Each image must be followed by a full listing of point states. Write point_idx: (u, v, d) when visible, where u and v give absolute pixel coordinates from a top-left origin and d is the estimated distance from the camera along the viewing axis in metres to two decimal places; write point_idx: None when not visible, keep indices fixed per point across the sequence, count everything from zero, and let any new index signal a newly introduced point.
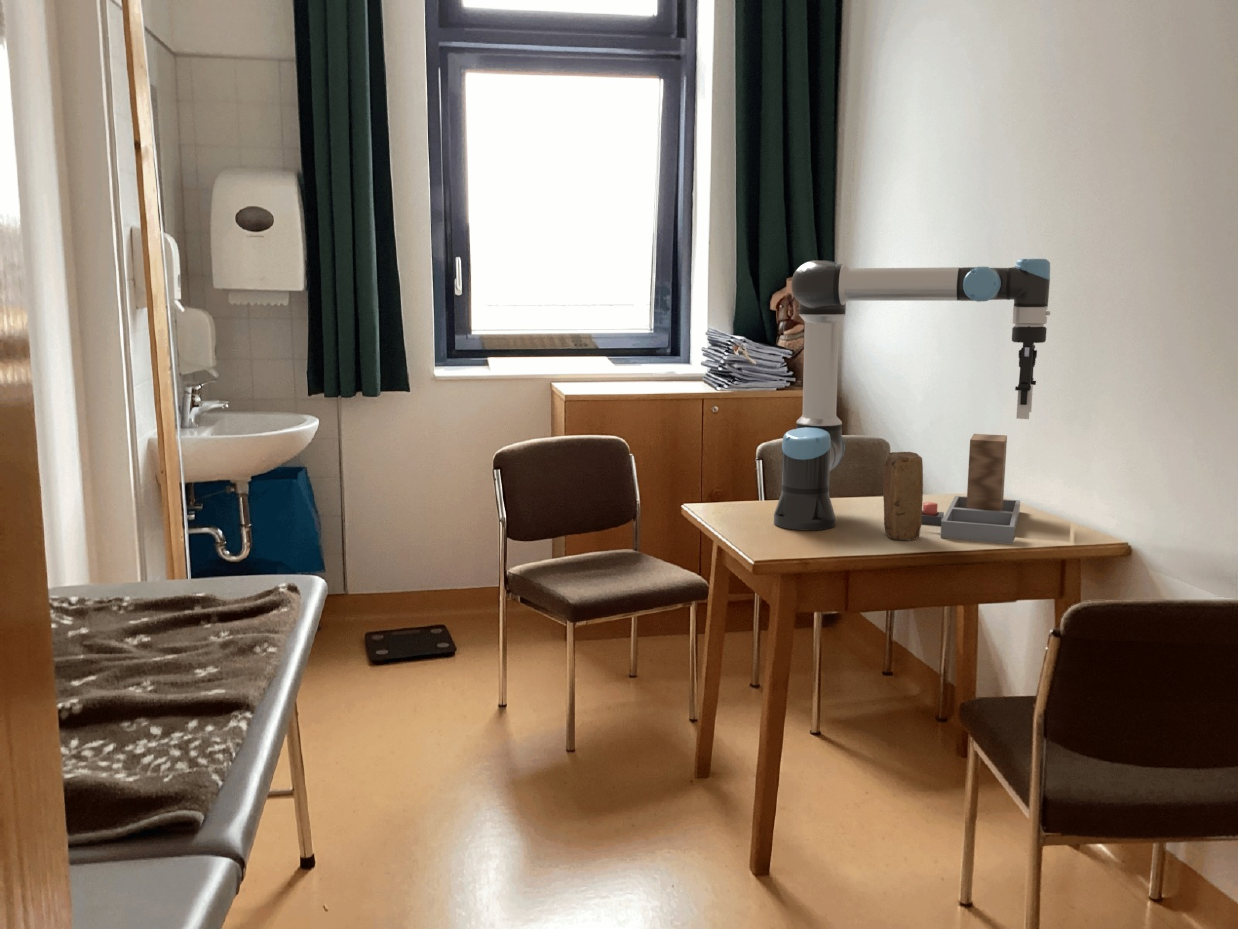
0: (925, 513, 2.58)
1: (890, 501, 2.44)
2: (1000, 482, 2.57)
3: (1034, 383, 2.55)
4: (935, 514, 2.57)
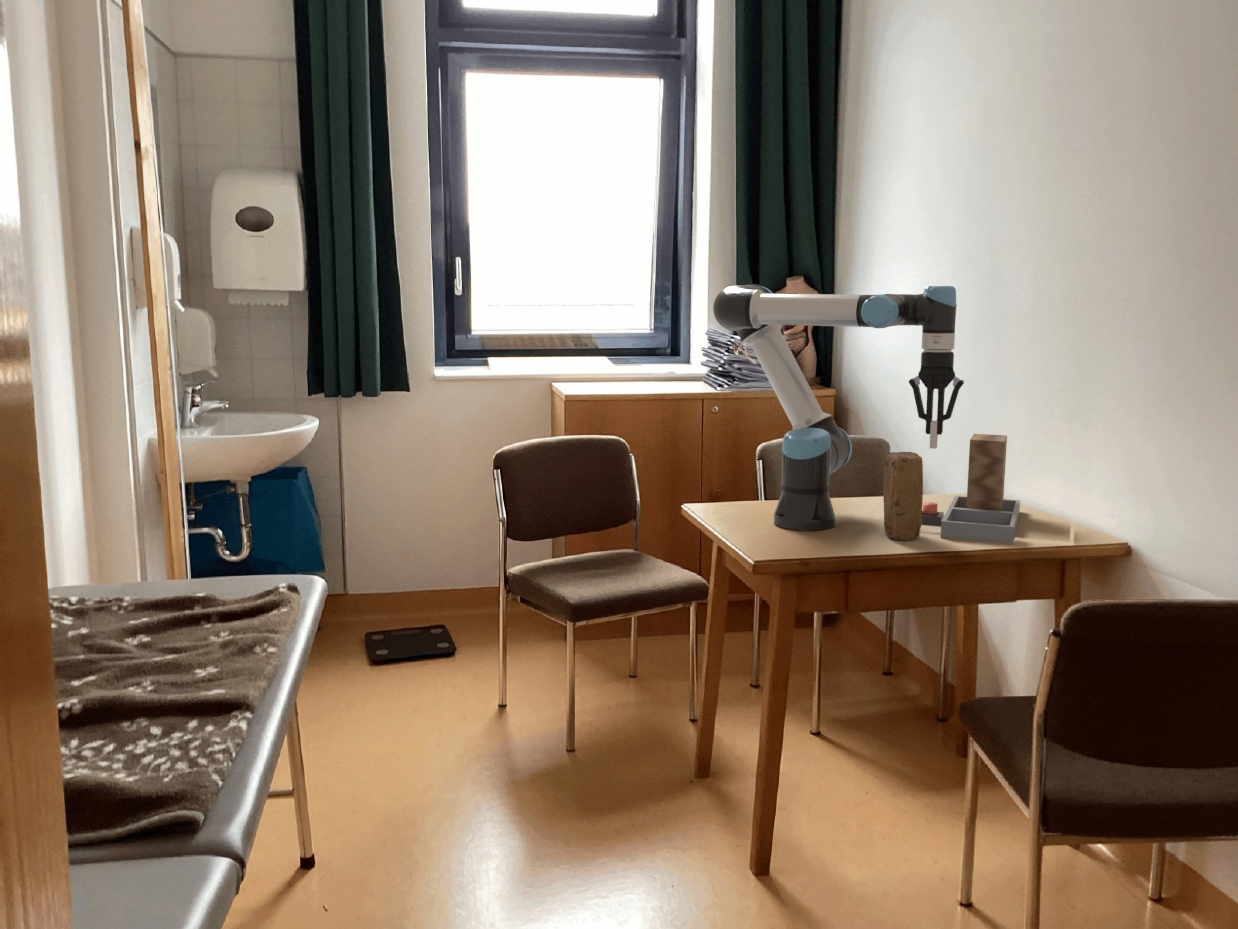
0: (925, 513, 2.58)
1: (890, 501, 2.44)
2: (1000, 482, 2.57)
3: (938, 419, 2.53)
4: (935, 514, 2.57)
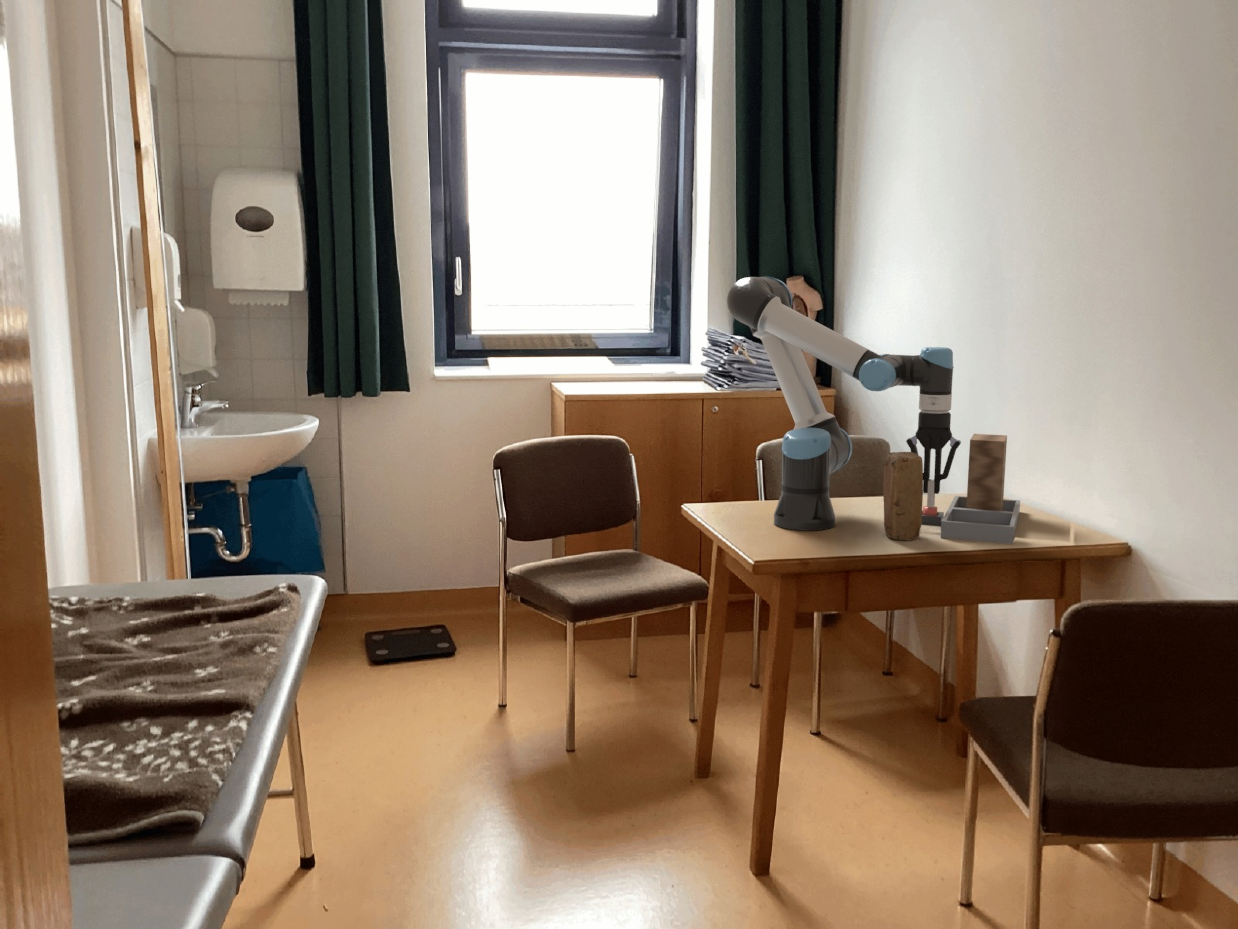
0: None
1: (890, 501, 2.44)
2: (1000, 482, 2.57)
3: (935, 479, 2.55)
4: None
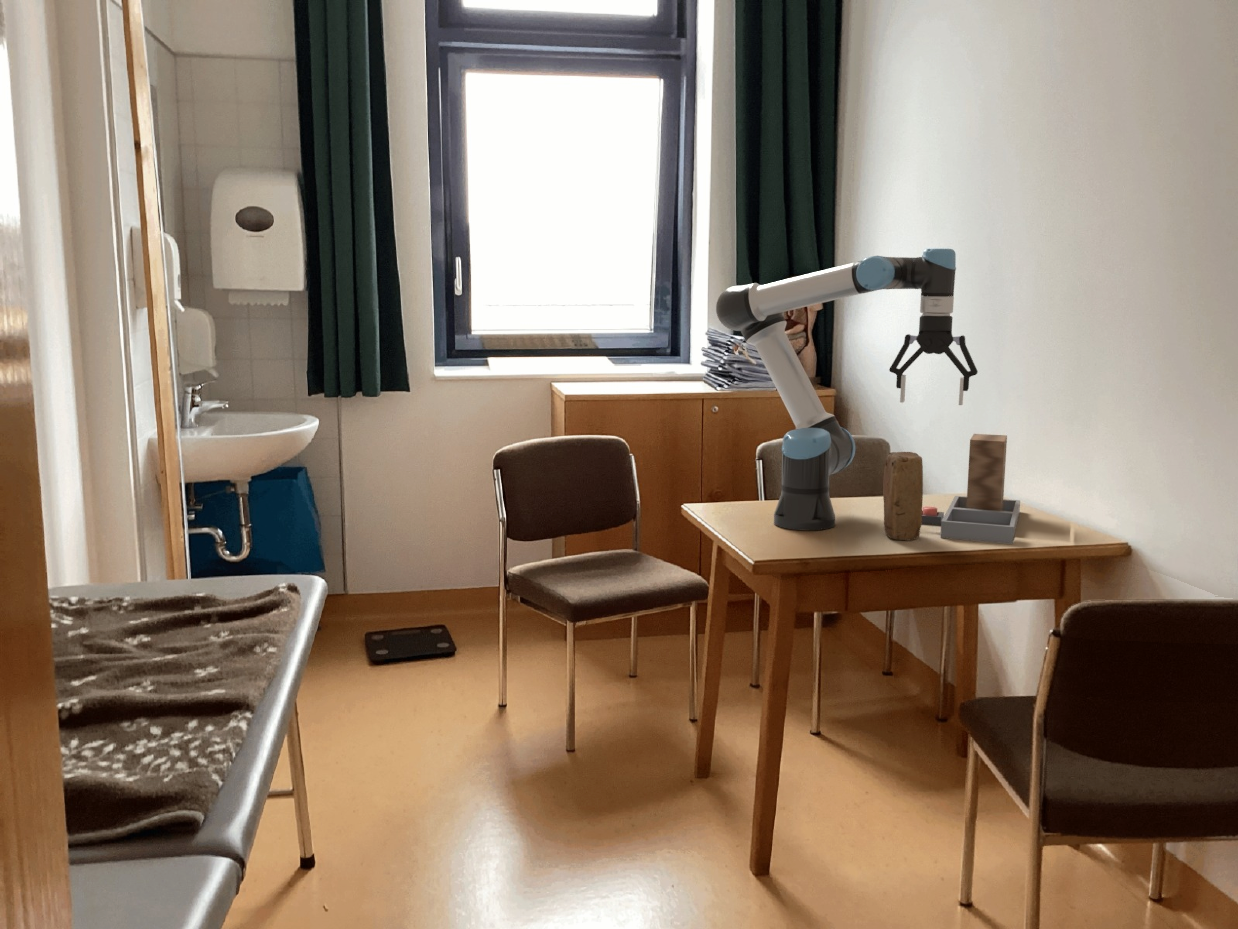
0: None
1: (890, 501, 2.44)
2: (1000, 482, 2.57)
3: (965, 376, 2.48)
4: None
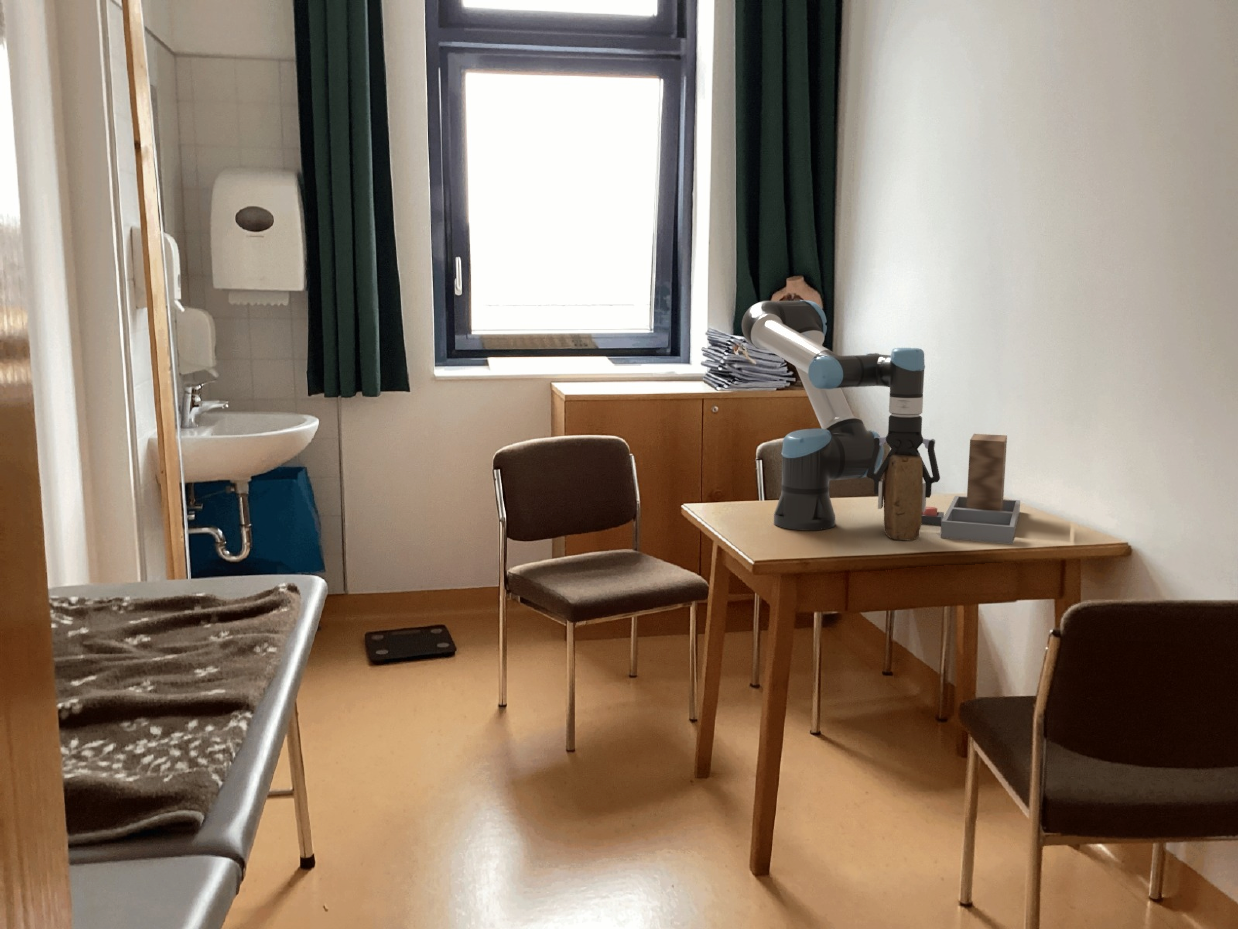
0: None
1: (890, 501, 2.44)
2: (1000, 482, 2.57)
3: (926, 483, 2.42)
4: None
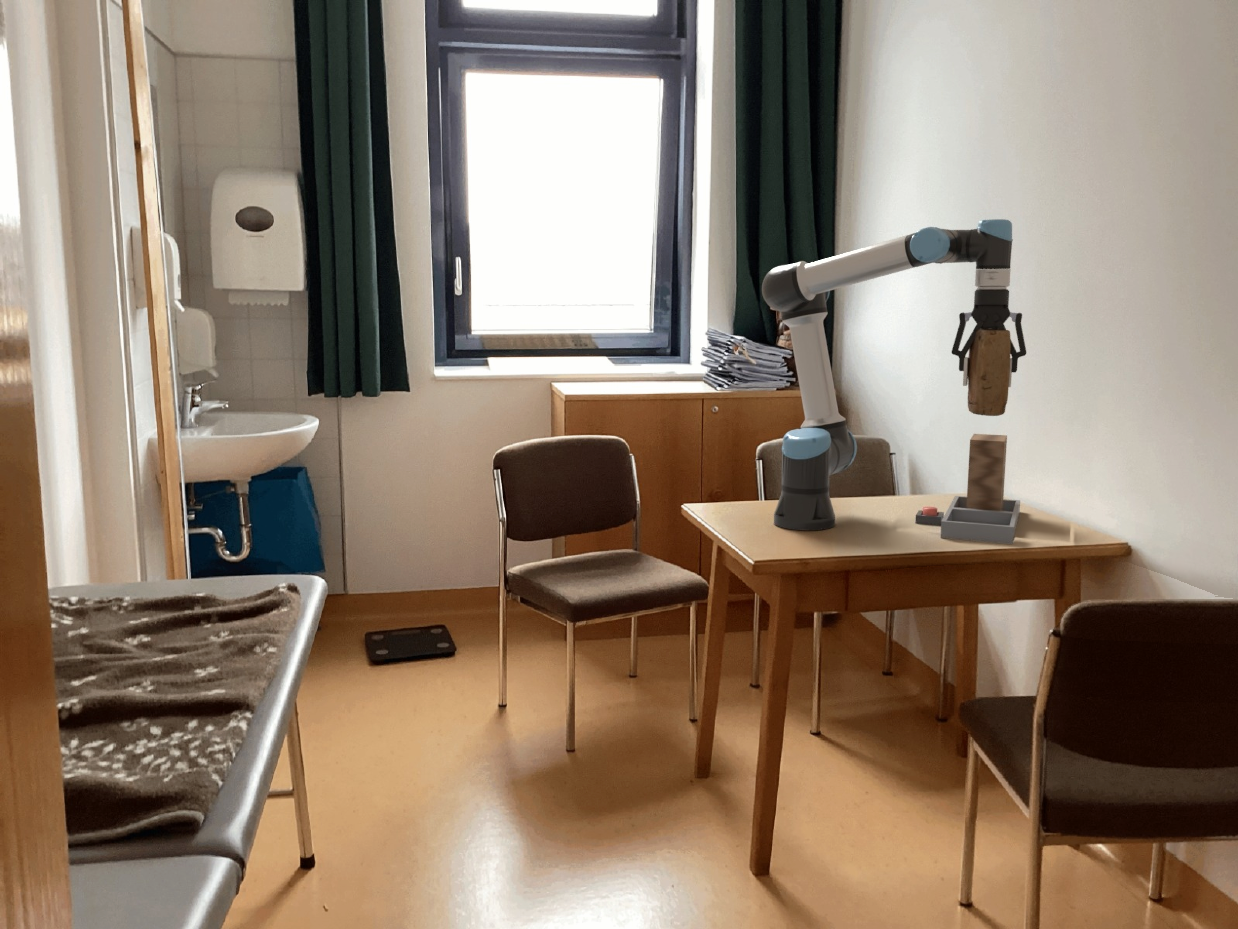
0: None
1: (976, 376, 2.41)
2: (1000, 482, 2.57)
3: (1013, 356, 2.40)
4: None
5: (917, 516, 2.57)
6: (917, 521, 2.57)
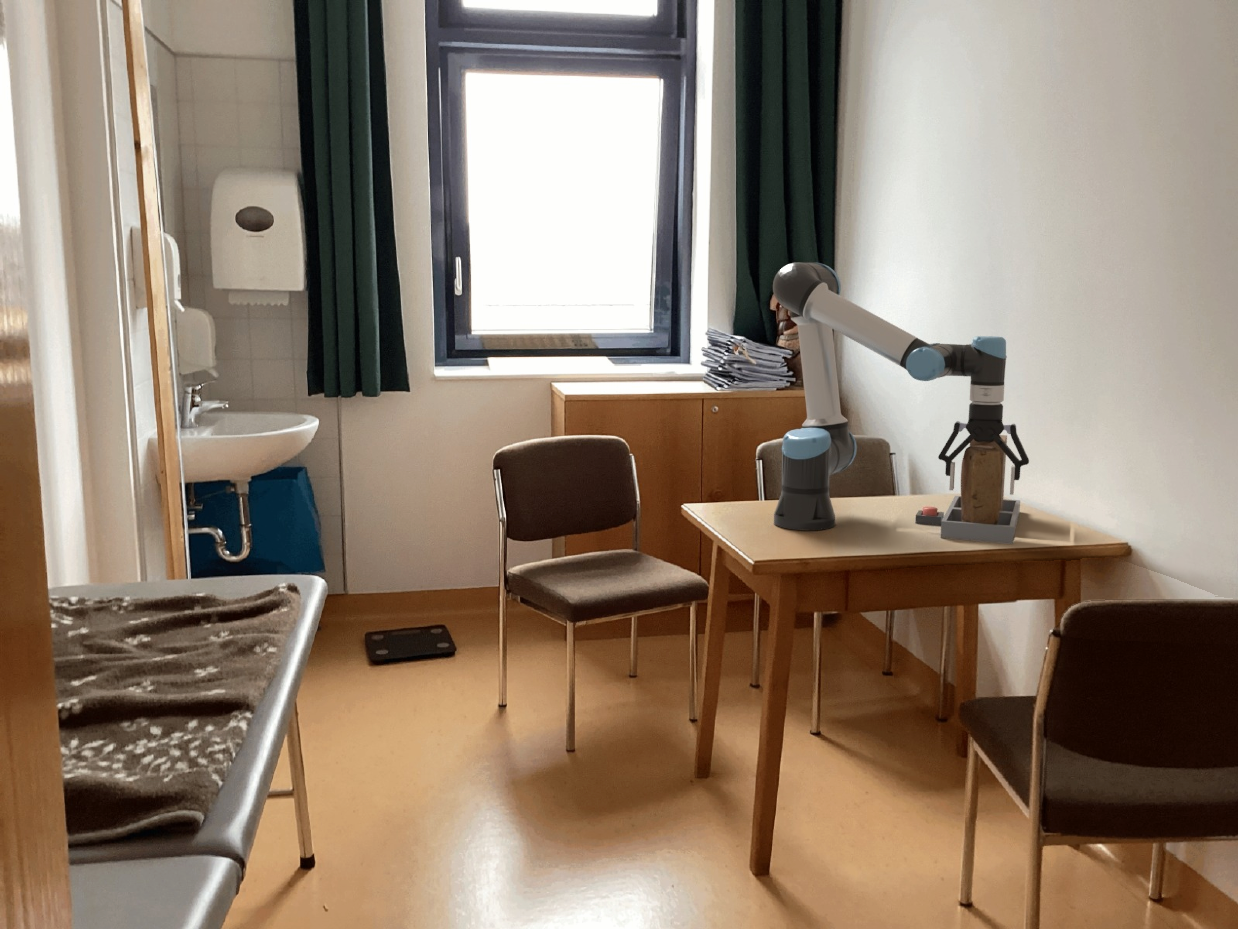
0: None
1: (967, 494, 2.46)
2: None
3: (1016, 465, 2.44)
4: None
5: (917, 516, 2.57)
6: (917, 521, 2.57)
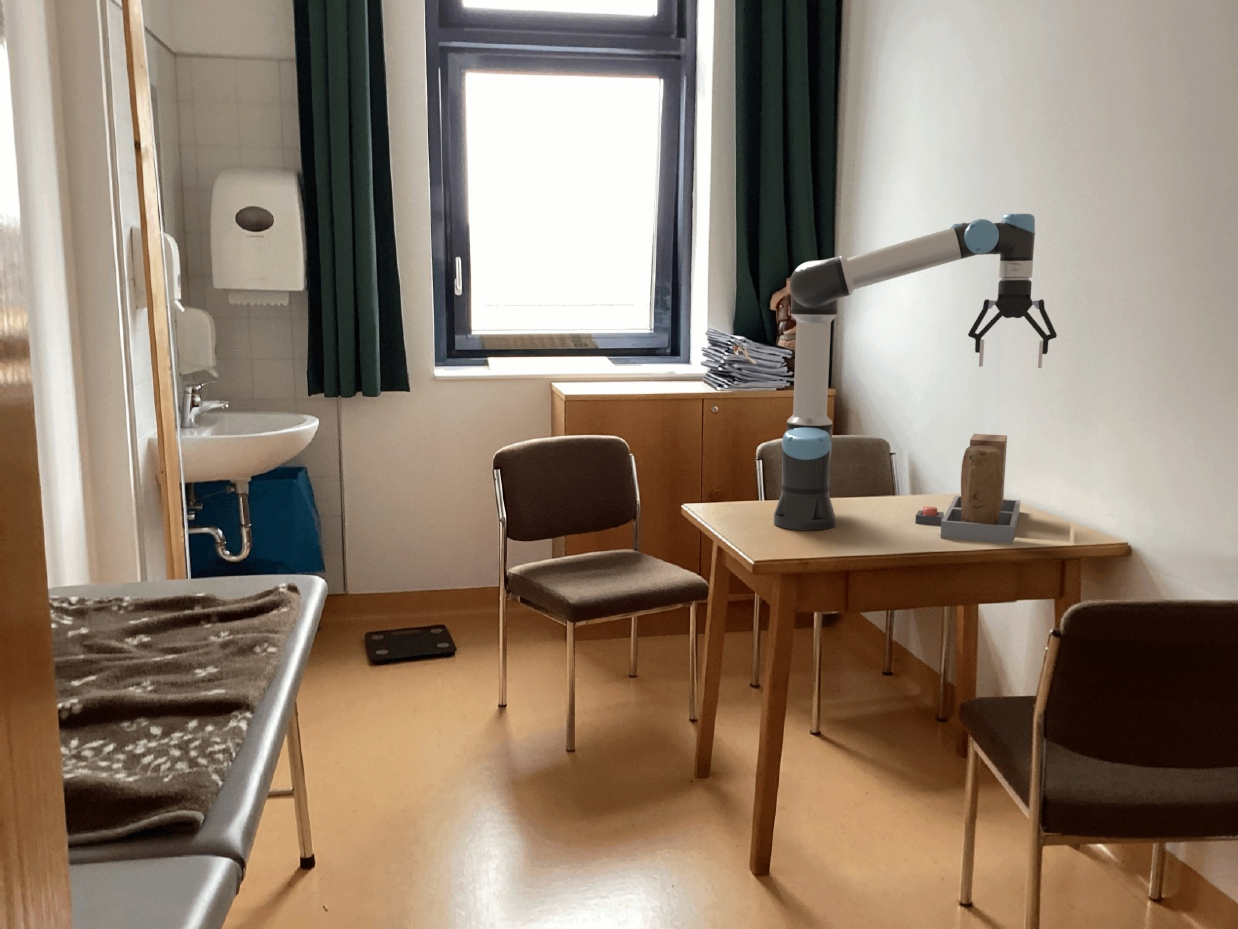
0: None
1: (967, 494, 2.46)
2: None
3: (1044, 339, 2.52)
4: None
5: (917, 516, 2.57)
6: (917, 521, 2.57)
